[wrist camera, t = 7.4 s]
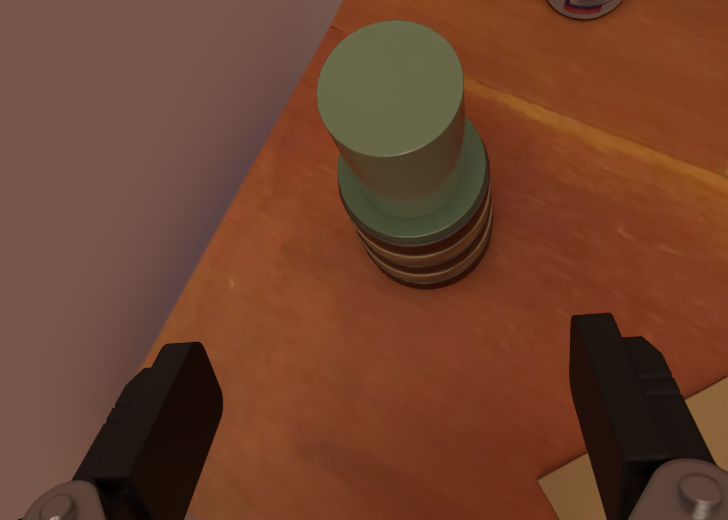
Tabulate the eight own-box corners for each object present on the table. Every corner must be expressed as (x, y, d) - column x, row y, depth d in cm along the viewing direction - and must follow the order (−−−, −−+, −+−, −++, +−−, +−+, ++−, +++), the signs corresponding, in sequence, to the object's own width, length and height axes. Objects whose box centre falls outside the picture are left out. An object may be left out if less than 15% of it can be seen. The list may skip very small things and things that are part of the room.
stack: (402, 312, 37) (379, 287, 28) (343, 206, 39) (301, 148, 30) (516, 248, 37) (532, 199, 27) (450, 144, 39) (443, 65, 29)
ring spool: (383, 269, 28) (347, 220, 19) (317, 152, 29) (258, 61, 21) (513, 195, 27) (532, 114, 19) (438, 81, 29) (426, -39, 21)
